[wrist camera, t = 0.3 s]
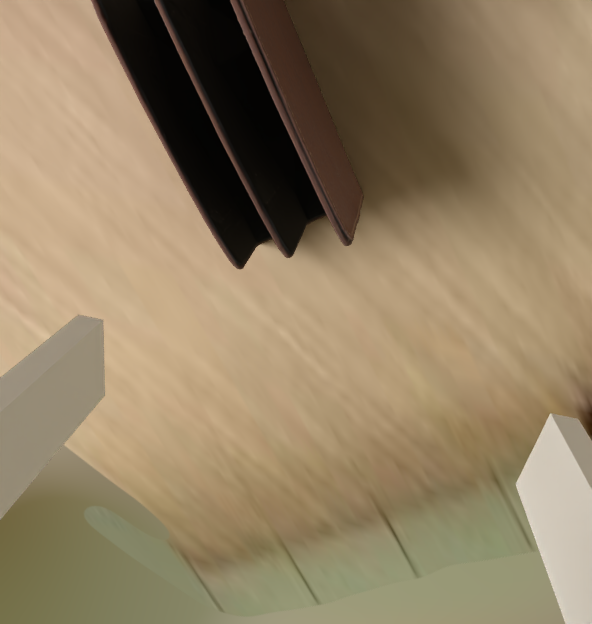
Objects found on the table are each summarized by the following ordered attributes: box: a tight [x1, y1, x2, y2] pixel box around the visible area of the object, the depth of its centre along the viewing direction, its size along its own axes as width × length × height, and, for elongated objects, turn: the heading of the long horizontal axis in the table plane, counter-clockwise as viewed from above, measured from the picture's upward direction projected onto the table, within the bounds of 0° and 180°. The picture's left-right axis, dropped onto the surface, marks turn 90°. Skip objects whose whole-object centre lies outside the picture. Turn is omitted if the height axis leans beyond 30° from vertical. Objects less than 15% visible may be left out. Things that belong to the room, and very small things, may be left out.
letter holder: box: [91, 0, 364, 269], centre depth 31 cm, size 10×20×14 cm, turn 24°
